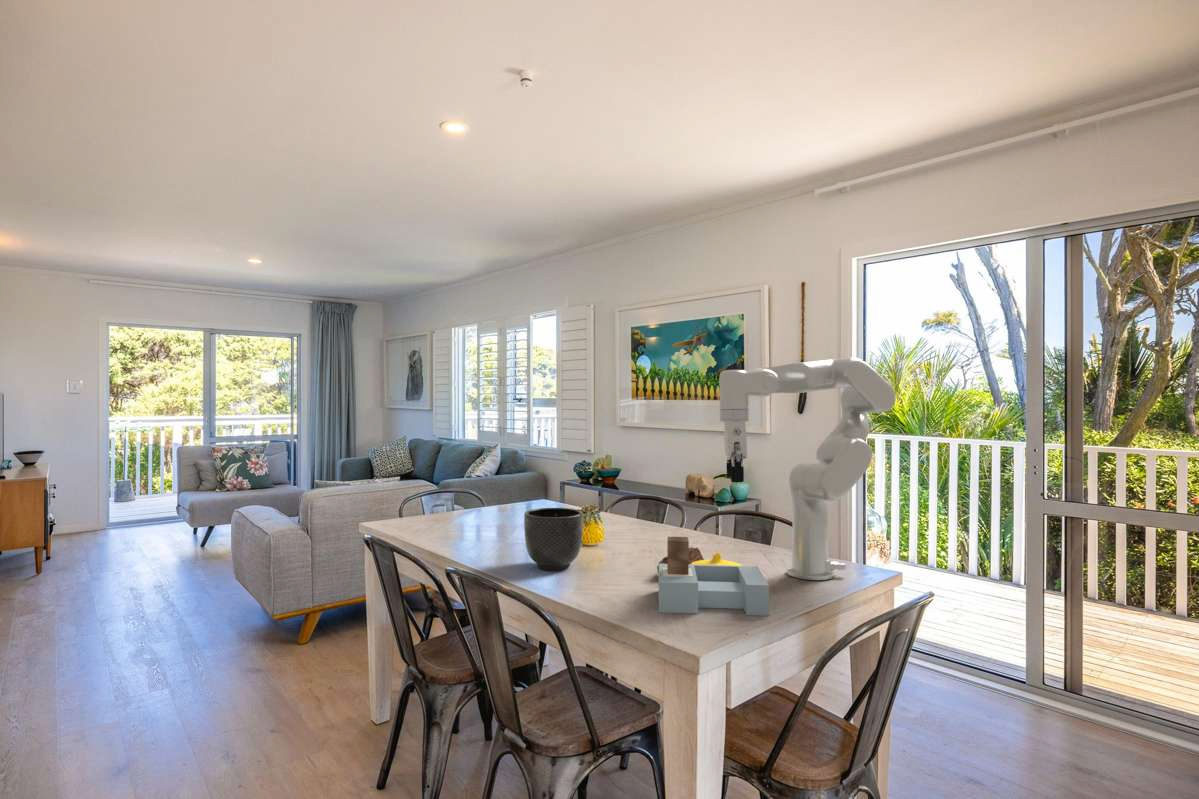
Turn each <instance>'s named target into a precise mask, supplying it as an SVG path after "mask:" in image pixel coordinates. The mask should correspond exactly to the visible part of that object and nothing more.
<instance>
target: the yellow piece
mask: <svg viewBox="0 0 1199 799" xmlns="http://www.w3.org/2000/svg"><path fill="white" fill-rule="evenodd" d="M691 564H692V565H730V566H743V564H741V563H739V562H735V561H731V560H726V559H722V553H719V552H714V553H713V554H712V558H711V559H704V560H700V561H695V562H693V563H691Z"/></svg>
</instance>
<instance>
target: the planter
mask: <svg viewBox="0 0 1199 799" xmlns="http://www.w3.org/2000/svg"><path fill="white" fill-rule="evenodd" d="M523 517H524V518H523V520H524V521H523V523H524V524H523V525H524V526H523V527H524V528H523V529H524V542H525V547H526V548H525V549H526V551H527V554H528V556H529V558H530V559H531V560H532V561H533V562H534V563H535V564H536V566H537V568H539V569H540V570H542V571H548V572H550V571H551V572H554V571H555V572H556V571H557V572H558V571H564V570H566V569H569V567H570V566H571V563H572V562H574V561H575V560H576V558H577V557H578V556H579V553H580V550H581V548H582V542H583V530H584V513H583V511H581V510H579V509H575V508H567V507H542V508H541V507H540V508H534V509H530V510H526V511H525V512H524V516H523Z"/></svg>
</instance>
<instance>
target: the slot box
mask: <svg viewBox="0 0 1199 799" xmlns="http://www.w3.org/2000/svg"><path fill="white" fill-rule="evenodd" d="M658 564H659V563H658ZM769 590H770V585H769V583H768V581H767V580H766V579H765V577H764V575H763V573H762V572H761V570H760V568H759V567H758V566H757V565H742V566H730V565H692V564H689V571H688V575H682V574H668V572H667V564H659V574H658V612H659V613H666V614H667V613H670V614H675V613H676V614H699V608H705V609H707V608H708V609H738V610H739V609H741V610H743V611H744V613H745V615H746V616H760V617H761V616H762V617H763V616H764V617H767V616H769V615H770V614H769V612H770V610H769V609H770V608H769V605H770V603H769V602H770V600H769V599H770V598H769V597H770V596H769V595H770V594H769V593H770V591H769Z"/></svg>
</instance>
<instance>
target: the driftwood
mask: <svg viewBox="0 0 1199 799" xmlns="http://www.w3.org/2000/svg"><path fill="white" fill-rule="evenodd" d="M700 560H705V559H704V556H703V555H702V552H701V551H700V549H699V548H698V547H693V546H691V547H689V564H691V563H693V562H695V561H700ZM659 564H667V556H664V557H663V558H662V559H661V560H660V561H659V562H658V565H657V567H656V569H657V574H658V575H659Z"/></svg>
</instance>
